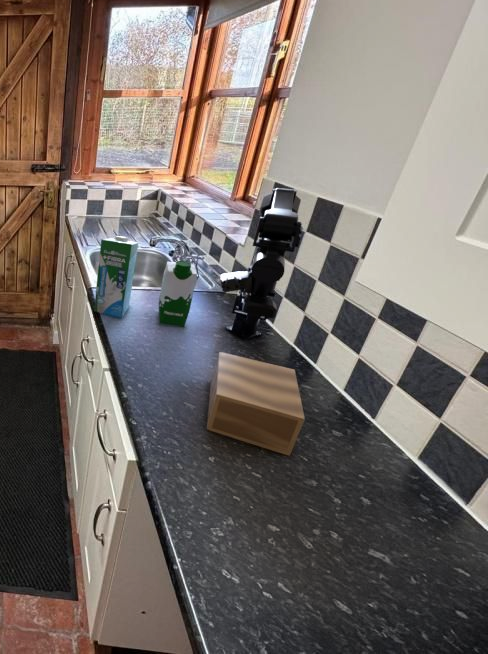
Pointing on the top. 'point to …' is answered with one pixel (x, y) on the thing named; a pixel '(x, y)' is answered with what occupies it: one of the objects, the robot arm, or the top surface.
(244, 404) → the cabinet
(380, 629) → the top surface
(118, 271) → the milk carton
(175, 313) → the soya milk
